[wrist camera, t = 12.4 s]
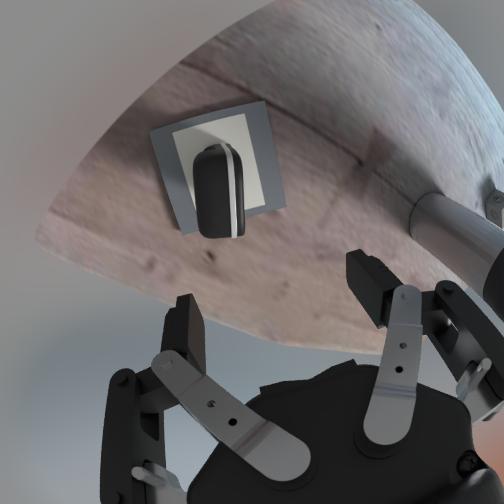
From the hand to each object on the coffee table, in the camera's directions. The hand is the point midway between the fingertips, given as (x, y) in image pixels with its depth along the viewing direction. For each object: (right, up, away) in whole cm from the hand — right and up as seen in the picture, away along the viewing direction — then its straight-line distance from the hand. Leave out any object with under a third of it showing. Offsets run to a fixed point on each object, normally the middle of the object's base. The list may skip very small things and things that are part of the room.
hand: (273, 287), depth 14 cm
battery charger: (-5, +11, +16) cm, 20 cm away
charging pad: (-5, +11, +17) cm, 21 cm away
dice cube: (+50, +12, +27) cm, 58 cm away
